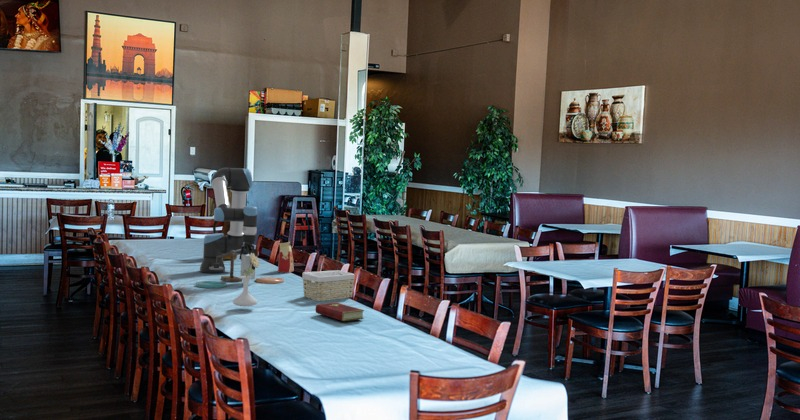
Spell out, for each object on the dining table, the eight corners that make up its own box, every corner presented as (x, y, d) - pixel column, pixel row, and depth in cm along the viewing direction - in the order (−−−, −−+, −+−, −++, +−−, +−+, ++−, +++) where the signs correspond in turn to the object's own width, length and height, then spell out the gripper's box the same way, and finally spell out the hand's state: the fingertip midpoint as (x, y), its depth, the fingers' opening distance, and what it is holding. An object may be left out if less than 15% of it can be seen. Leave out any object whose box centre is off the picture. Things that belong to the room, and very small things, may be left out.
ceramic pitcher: (233, 262, 487) (235, 218, 485) (204, 261, 487) (205, 217, 485) (240, 259, 506) (242, 216, 505) (212, 257, 506) (213, 215, 505)
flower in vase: (245, 309, 332) (247, 255, 330) (227, 305, 338) (229, 252, 336) (264, 305, 343) (266, 253, 341) (247, 302, 349) (249, 250, 347)
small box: (255, 279, 400) (256, 256, 399) (243, 279, 397) (244, 256, 396) (251, 276, 407) (252, 254, 406) (240, 277, 404) (241, 254, 404)
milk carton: (293, 272, 456) (295, 240, 454) (290, 274, 446) (291, 242, 445) (279, 271, 456) (280, 240, 455) (275, 273, 447) (277, 241, 446)
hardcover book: (342, 321, 318) (343, 311, 318) (315, 312, 333) (315, 303, 333) (363, 318, 326) (364, 309, 326) (336, 310, 341) (336, 301, 341)
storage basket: (317, 305, 362) (318, 276, 362) (299, 299, 375) (300, 271, 374) (354, 301, 378) (356, 273, 377) (336, 296, 390) (338, 269, 390)
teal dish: (190, 284, 390) (190, 282, 390) (217, 282, 401) (218, 280, 401) (204, 289, 378) (204, 286, 378) (231, 287, 389) (231, 284, 389)
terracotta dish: (250, 280, 415) (250, 278, 415) (274, 278, 426) (274, 276, 426) (264, 284, 403) (264, 282, 403) (289, 282, 414) (289, 280, 414)
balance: (204, 280, 407) (205, 246, 406) (247, 277, 425) (248, 245, 424) (214, 283, 398) (215, 249, 397) (257, 280, 416) (259, 247, 415)
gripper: (234, 232, 406) (232, 271, 408) (253, 236, 390) (251, 277, 391) (245, 231, 411) (244, 270, 413) (265, 236, 395) (263, 276, 396)
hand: (247, 274), depth 402 cm, fingers closed on small box, 9 cm apart
